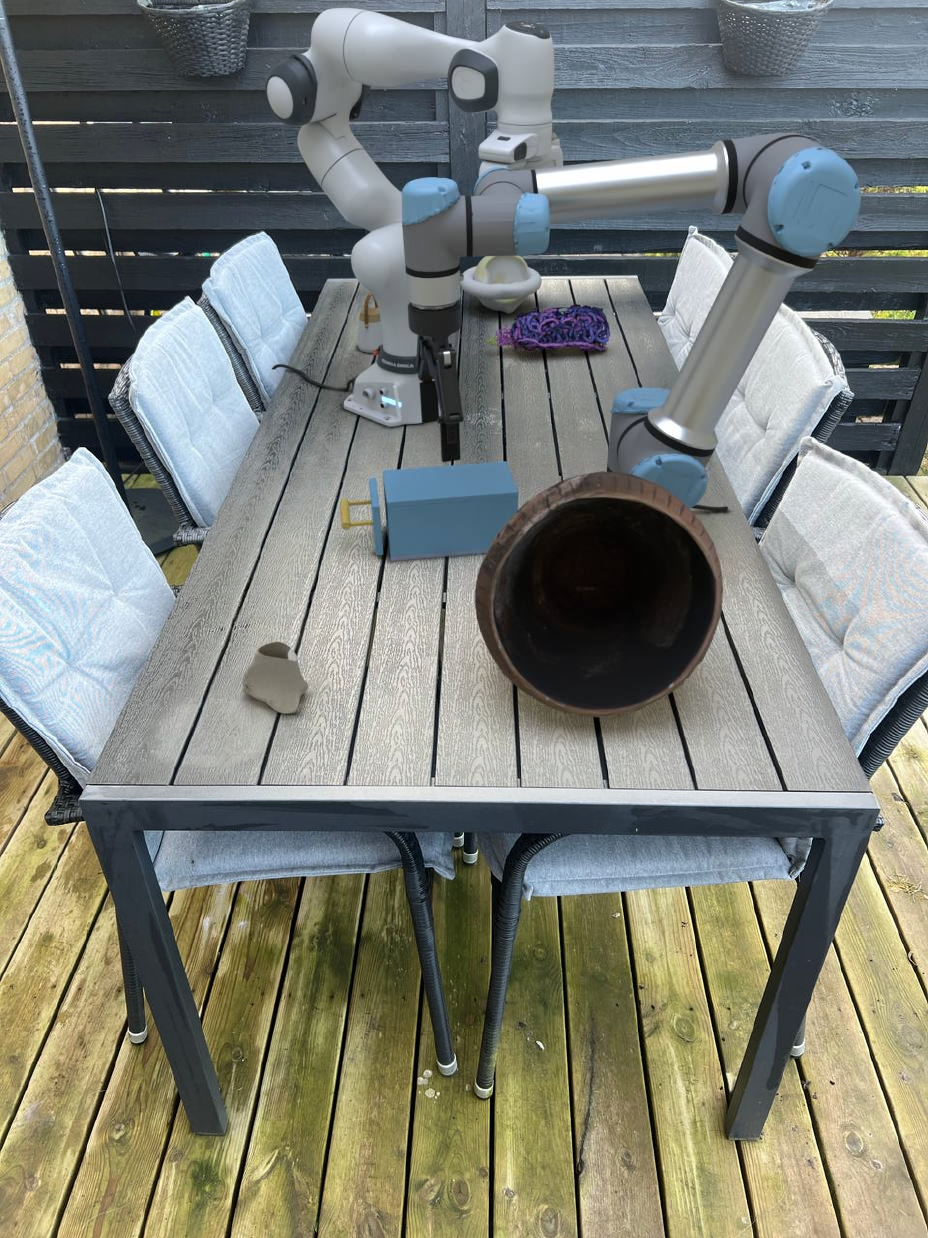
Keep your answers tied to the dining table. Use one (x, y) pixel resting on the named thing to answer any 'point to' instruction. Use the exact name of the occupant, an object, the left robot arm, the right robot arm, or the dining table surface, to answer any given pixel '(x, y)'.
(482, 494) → the blue open box
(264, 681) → the grey flared pouch
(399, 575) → the dining table surface
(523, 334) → the purple fibrous block
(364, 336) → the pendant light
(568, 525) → the pot
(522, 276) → the hat
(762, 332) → the right robot arm
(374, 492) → the drawer
